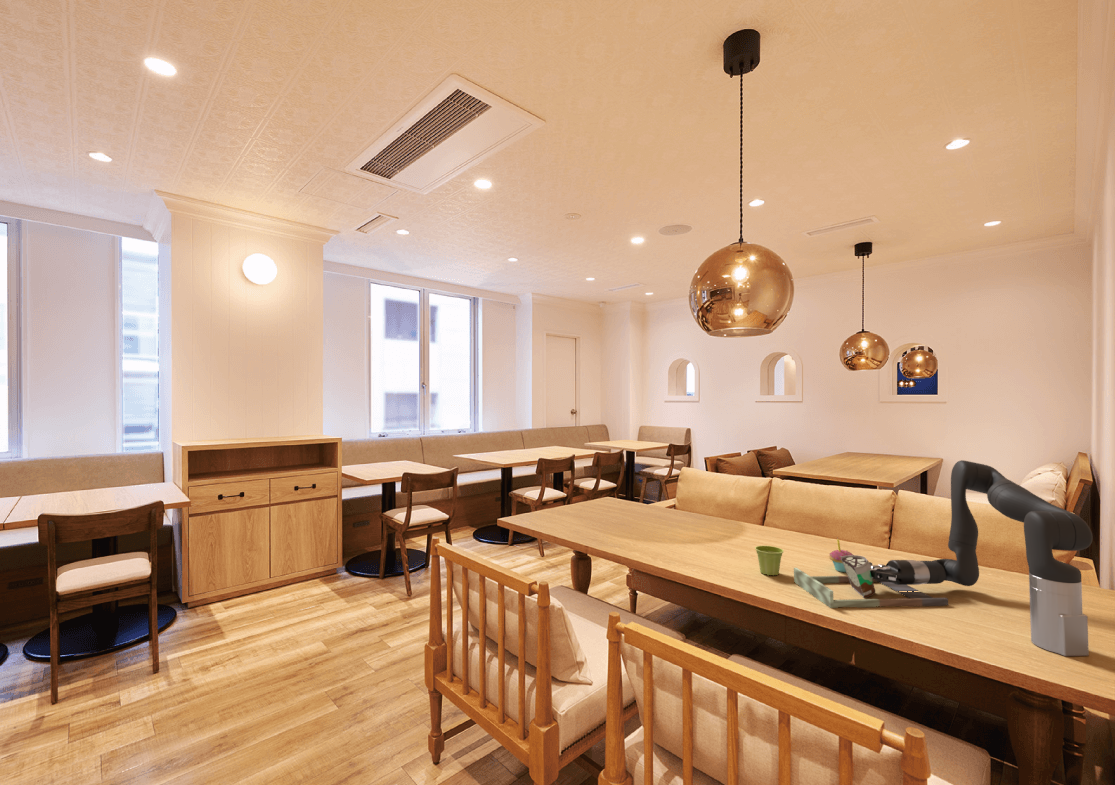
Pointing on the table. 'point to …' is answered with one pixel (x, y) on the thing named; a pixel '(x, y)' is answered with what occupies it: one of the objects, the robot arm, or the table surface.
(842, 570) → the cupcake
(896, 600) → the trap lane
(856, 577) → the food container
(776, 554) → the plant pot
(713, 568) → the table surface
